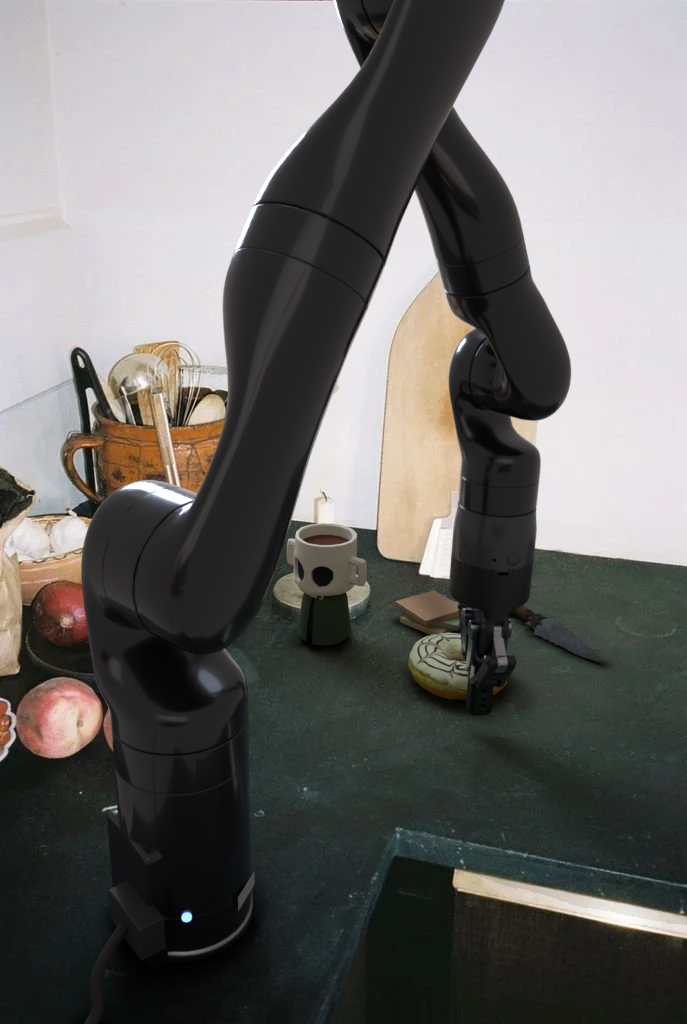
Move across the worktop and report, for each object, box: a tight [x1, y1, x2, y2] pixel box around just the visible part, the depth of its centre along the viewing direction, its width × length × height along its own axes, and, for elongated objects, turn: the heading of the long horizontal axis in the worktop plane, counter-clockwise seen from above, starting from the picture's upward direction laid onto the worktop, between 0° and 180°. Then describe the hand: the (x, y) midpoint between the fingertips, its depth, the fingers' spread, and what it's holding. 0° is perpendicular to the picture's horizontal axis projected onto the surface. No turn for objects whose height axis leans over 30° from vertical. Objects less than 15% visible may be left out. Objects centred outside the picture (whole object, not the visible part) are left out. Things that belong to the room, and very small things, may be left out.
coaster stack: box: [395, 589, 460, 636], centre depth 114 cm, size 9×8×2 cm
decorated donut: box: [408, 632, 509, 701], centre depth 101 cm, size 10×11×4 cm
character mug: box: [286, 522, 368, 646], centre depth 108 cm, size 11×7×13 cm, turn 56°
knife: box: [511, 605, 602, 663], centre depth 111 cm, size 17×2×5 cm
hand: (478, 711), depth 92 cm, fingers closed
